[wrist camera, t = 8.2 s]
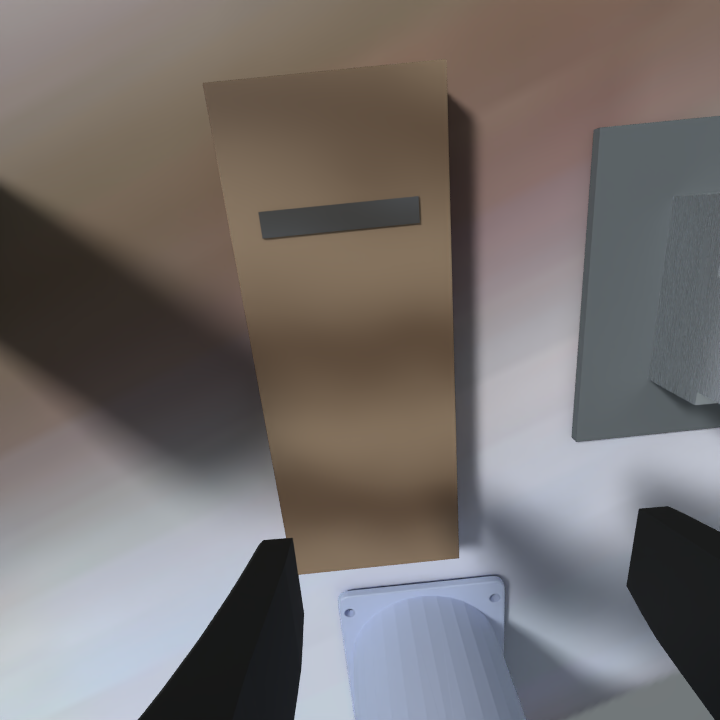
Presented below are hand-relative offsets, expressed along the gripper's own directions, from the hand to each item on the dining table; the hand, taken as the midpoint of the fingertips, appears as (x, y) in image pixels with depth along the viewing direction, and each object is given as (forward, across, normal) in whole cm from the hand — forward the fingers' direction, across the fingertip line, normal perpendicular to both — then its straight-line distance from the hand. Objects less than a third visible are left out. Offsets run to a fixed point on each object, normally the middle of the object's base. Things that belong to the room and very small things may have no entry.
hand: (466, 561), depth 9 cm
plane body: (+9, +2, -2) cm, 10 cm away
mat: (+9, -12, -3) cm, 16 cm away
